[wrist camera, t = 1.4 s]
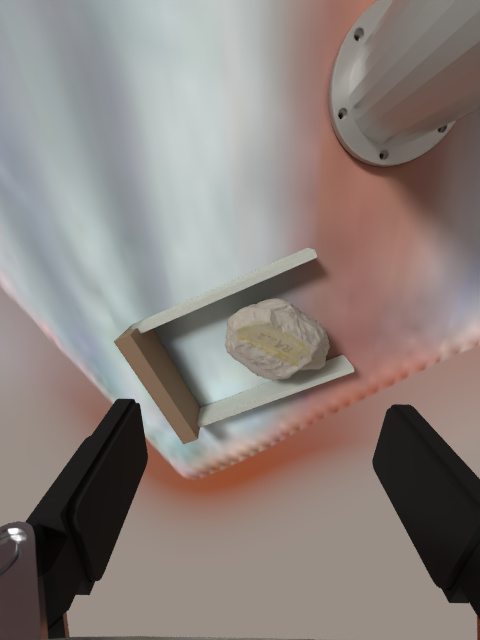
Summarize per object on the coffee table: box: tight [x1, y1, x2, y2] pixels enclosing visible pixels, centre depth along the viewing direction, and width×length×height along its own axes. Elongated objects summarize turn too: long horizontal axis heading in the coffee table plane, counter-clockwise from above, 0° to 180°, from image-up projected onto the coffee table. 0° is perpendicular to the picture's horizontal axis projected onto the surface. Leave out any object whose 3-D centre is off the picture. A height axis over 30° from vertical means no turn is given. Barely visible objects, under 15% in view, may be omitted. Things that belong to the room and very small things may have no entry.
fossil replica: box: [225, 298, 330, 381], centre depth 28 cm, size 12×8×10 cm
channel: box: [114, 248, 355, 444], centre depth 30 cm, size 23×16×5 cm
